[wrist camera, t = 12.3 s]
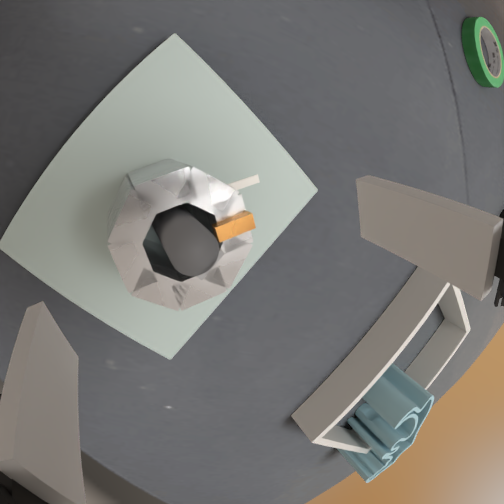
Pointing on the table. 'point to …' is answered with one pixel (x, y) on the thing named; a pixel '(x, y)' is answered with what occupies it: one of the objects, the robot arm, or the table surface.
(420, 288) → the dispenser corral
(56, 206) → the peg stand
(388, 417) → the light blue curvy piece
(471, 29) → the tape roll
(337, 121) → the table surface
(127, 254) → the grey piece
